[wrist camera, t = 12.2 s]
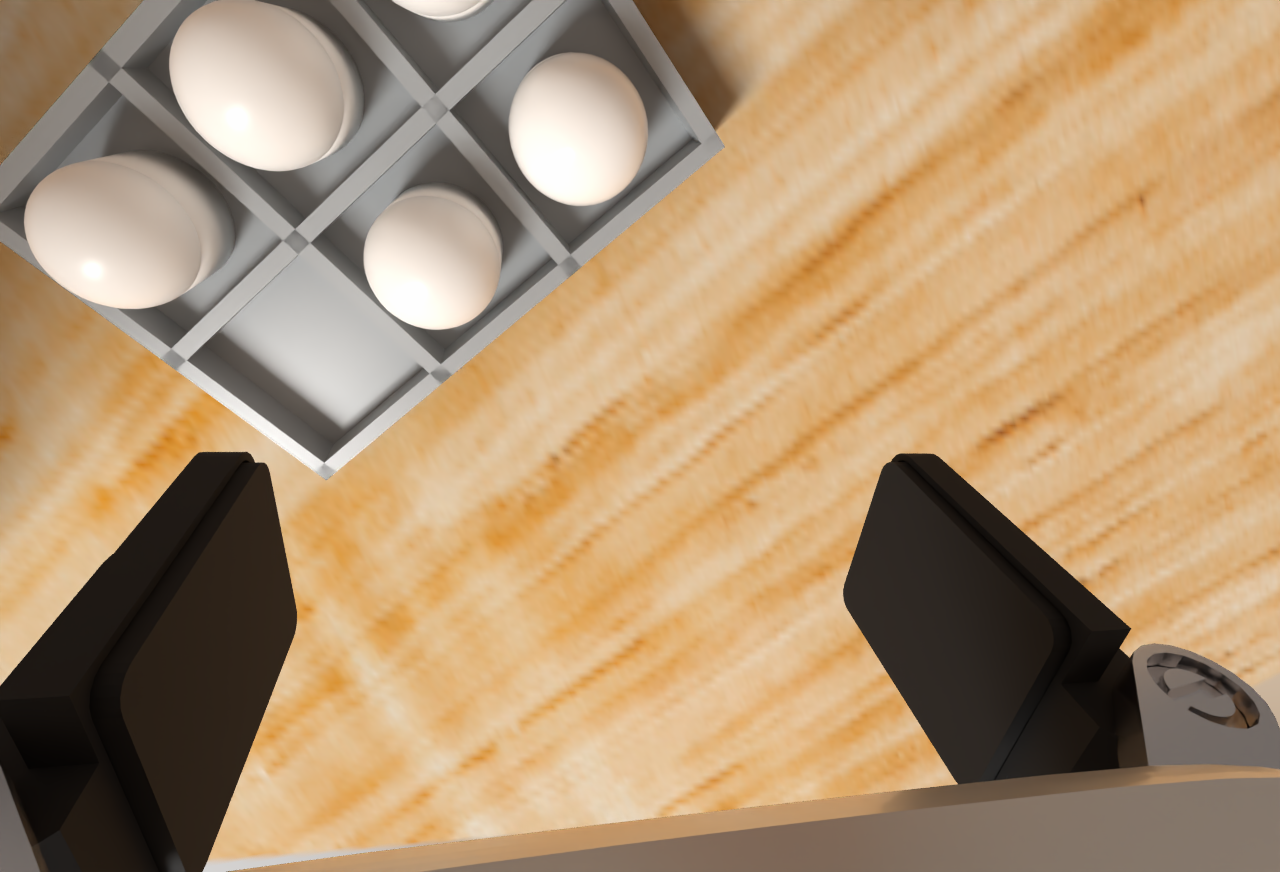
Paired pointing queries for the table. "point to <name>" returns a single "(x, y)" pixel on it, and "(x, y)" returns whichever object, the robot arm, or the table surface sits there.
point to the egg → (578, 129)
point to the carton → (326, 194)
